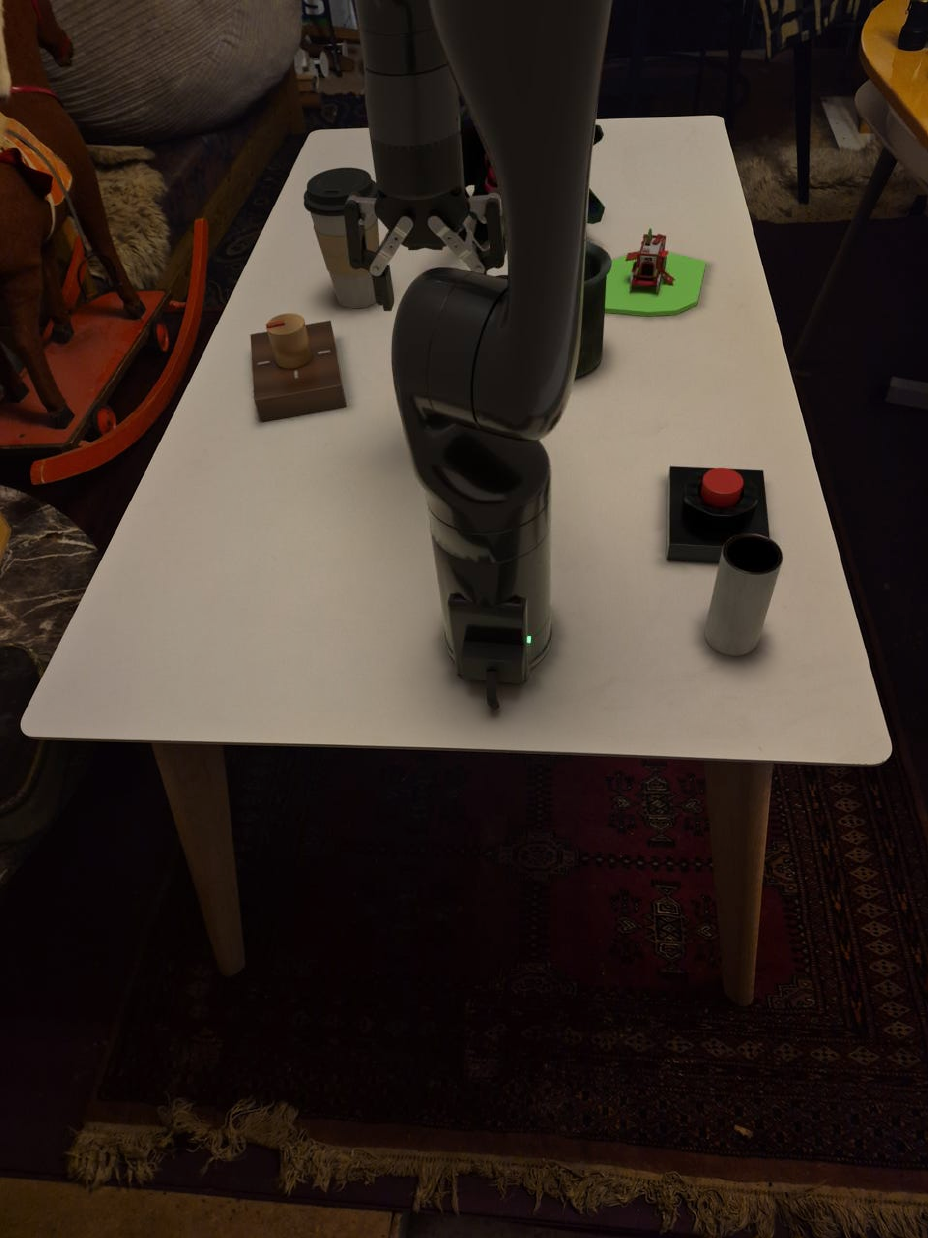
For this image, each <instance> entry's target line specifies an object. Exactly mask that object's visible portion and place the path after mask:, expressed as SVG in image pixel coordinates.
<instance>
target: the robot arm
mask: <svg viewBox="0 0 928 1238" xmlns="http://www.w3.org/2000/svg"><path fill="white" fill-rule="evenodd" d="M613 2H614V0H353V3H354V7H355V13H356V14H355V15H356V20H357V21H356V22H357V26H358V27H357V28H358V35H359V43H360V49H361V58H362V63H363V75H364V76H363V77H364V79H363V81H364V84H363V85H364V103H365V111H366V117H367V125H368V131H369V132H368V133H369V140H370V147H371V154H372V160H373V168H374V177H375V182H376V184H377V190H378V194H377V198H363V197H362V196H361V195H360V194H359V193H358V192H352V193H351V194H350V195H349V197H348V200H347V202H346V204H345V206H344V218H345V227H346V236H347V245H348V254H349V263H350V266H351V267H352V268H354V269H360V268H362V269H365V270H367V271H369V272H370V273H371V275H372V279H373V286H374V292H375V299H376V303H377V305H378V306H382V310H383V312H392V311H393V307H394V304H395V294H394V287H393V281H392V280H393V279H392V272H391V266H390V265H391V264H389V263H390V261H391V260H393V258H394V256H395V255H396V253H397V251H398V249H399V248H400V247H401V246H403V247H405V248H407V250H408V251H419V250H422V249H427V250H431V251H443V248H445V247H447V248H448V249H449V250H450V251H451V253H453V255H454V256H455V257H456V258H457V259H459V260H461V261H462V262H463V263H464V264H465V266H467V268H469V270H467V269H463V268H459V267H451V266H436V267H433V268H429V269H427V270H425V271H423V272H422V273H420V274H419V275H418V276H416V278H414V279H413V280H412V282H410V284H409V285H408V287H407V288H406V289H405V291H404V294H403V296H402V297H401V299H400V302H399V304H398V307H397V310H396V314H395V317H394V322H393V326H392V327H393V328H392V334H391V349H390V351H391V352H390V353H391V354H390V356H391V358H390V359H391V361H390V362H391V374H392V383H393V389H394V393H395V399H396V404H397V407H398V412H399V416H400V417H399V418H400V422H401V425H402V430H403V434H404V438H405V442H406V443H405V444H406V447H407V452H408V456H409V462H410V465H411V470H412V473H413V476H414V478H415V480H416V481H417V483H418V484H419V486H420V487H421V489H422V490H423V491H424V494H425V500H426V508H427V515H428V522H429V530H430V537H431V544H432V551H433V557H434V564H435V573H436V578H437V579H436V580H437V585H438V593H439V598H440V599H439V600H440V607H441V613H442V619H443V624H444V641H445V647H446V649H447V652H448V654H449V656H450V657H451V659H452V660H453V661H454V667H455V673H456V675H458V676H462V679H466V680H468V679H469V680H479V681H480V680H481V681H485V694H486V695H485V697H486V703H487V705H488V707H489V708H490V710H491V711H493V712H496V711H498V710H499V709H500V708H501V707H500V706H501V704H500V703H499V699H498V692H497V691H498V690H497V689H498V688H497V685H498V683H497V682H504V683H514V684H516V683H517V684H523V683H524V681H527V680H528V679H529V675H530V671H531V669H533V668H535V667H536V666H537V665H538V664H539V663H540V662H541V661H543V659H544V658H545V656H547V653H548V652H549V650H550V647H551V644H552V638H553V627H552V615H551V614H552V601H551V600H552V594H551V593H552V592H551V591H552V587H551V586H552V585H551V584H552V578H551V577H552V464H551V459H550V456H549V453H548V451H547V449H546V447H545V445H544V444H543V443H542V442H541V440H543V439H545V438H546V437H548V436H549V435H550V434H551V433H552V432H553V431H554V430H555V429H556V427H557V426H558V424H559V423H560V422H561V419H562V417H563V415H564V413H565V412H566V409H567V407H568V404H569V400H570V397H571V394H572V391H573V387H574V384H575V379H576V377H575V374H576V368H577V363H578V356H579V348H580V337H581V323H582V309H583V291H584V270H585V250H586V241H587V229H588V223H587V214H588V197H589V188H590V181H591V169H592V168H591V167H592V158H593V150H594V146H593V142H594V133H595V124H597V114H598V106H599V99H600V92H601V84H602V78H603V71H604V62H605V56H606V50H607V44H608V43H607V42H608V36H609V28H610V23H611V15H612V8H613ZM460 99H461V101H462V103H463V106H464V105H465V107H466V109H467V111H468V114H469V116H470V118H471V120H472V122H473V125H474V127H475V129H476V131H477V133H478V135H479V138H480V140H481V142H482V145H483V147H484V150H485V152H486V155H487V157H488V160H489V162H490V165H491V167H492V170H493V174H494V177H495V180H496V183H497V186H498V190H499V191H498V190H496V189H493V190H491V191H490V192H489V193H488V195H481V196H472V195H470V194H469V192H468V190H467V189H466V188H467V187H466V188H465V184H464V171H463V155H462V140H461V124H460V117H461V107H462V106H461V102H460ZM470 211H472V212H475V213H476V214H477V215H478V218H479V220H480V222H482V223H484V224H487V230H488V239H489V240H488V247H489V248H488V249H484V248H483V246H482V247H481V246H480V245H479V243H478V242H477V241H476V240H475V238H474V236H473V234H474V233H473V232H472V230H471V229H470V228H469V227H468V226H467V224H466V223H465V222H466V220H467V218H468V217H469V213H470ZM373 213H375V214H376V216H377V217H378V221H380V222H381V223H382V225H383V226H384V227H385V228H386V229H387V232H386V234H385V235H384V238H383V239H382V241H381V243H380V244H379V248H378V249H377V251H376V252H374V251H371V250H368V249H367V243H366V233H365V225H366V224H367V223H368V222H369V219H370V216H371V214H373ZM503 213H504V217H503ZM504 220H505V221H504ZM506 254H507V255H506ZM506 256H507V257H506ZM506 258H507V259H506ZM506 260H507V261H506ZM505 261H506V262H507V275H508V279H506V278H501V277H496V276H497V275H491V274H488V272H489V270H492V269H497V270H498V269H502V268H503V267H504V266H505Z"/></svg>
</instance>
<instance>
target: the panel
mask: <svg viewBox="0 0 928 1238" xmlns="http://www.w3.org/2000/svg"><path fill="white" fill-rule="evenodd" d="M305 325H306V329H307V333H308V338H309V342H310V346H311V350H312V359H311V360H310V362H308V363H307V364H306V365H304V366H301V367H298V368H293V369H286V368H282V367H280V366H278V365H277V364H276V361H275V358H274V354H273V350H272V347H271V343H270V340H269V336H268V333H267V331H262V332H256V333H251V334H249V336H250V352H251V353H250V354H251V367H252V368H251V369H252V370H251V371H252V381H253V383H252V385H253V399H254V400H253V401H254V404H255V407H256V410H257V414H258V417H259V420H260V422H261V423H262V422H267V421H268V422H269V421H273V420H280V419H285V418H291V417H296V416H300V415H307V414H313V413H319V412H324V411H329V410H335V409H340V408H346V407H347V406H348V405H347V400H346V394H345V389H344V383H343V378H342V371H341V366H340V360H339V355H338V349H337V344H336V339H335V335H334V330H333V325H332V321H331V320H326V321H320V322H313V323H307V324H305Z"/></svg>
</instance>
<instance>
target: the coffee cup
mask: <svg viewBox="0 0 928 1238" xmlns="http://www.w3.org/2000/svg"><path fill="white" fill-rule="evenodd" d="M352 192H358V193H359V194H360V195H361V196H362V197H363V198H377V194H378V190H377V184H376V180H374V179H373V178H372V175H371V174H370V173H369V172H368V171H367V170H364V169H362V168H359V167H337V168H331V169H327V170H324V171H322V172H319V173H317V174H316V175H314V176H312V177H310V179H309V180H308V181H307V183H306V190H305V191H304V193H303V206H304V209H305V210H306V211H308V212H310V216H311V219H312V222H313V229H314V233H315V236H316V239H317V242H318V246H319V249H320V251H321V255H322V258H323V262H324V265H325V267H326V270H327V272H328V273H329V277H330V281H331V282H332V286H333V288H334V292H335V296H336V299H337V301H338V303H339V305H340V306H343V307H344V308H346V309H347V308H348V309H363V308H369V307H370V306H373V305H374V304H376V303H377V302H376V299H375V292H374V286H373V279H372V275H371V273H370V272H369V271H367V270H365V269H362V268H360V269H354V268H352V267H351V266H350V263H349V254H348V245H347V236H346V227H345V218H344V206H345V204H346V202H347V200H348V197H349V195H350V194H351V193H352ZM379 229H380V228H379V218H378V217H377V216H376V214H375V213H373V214H371V216H370V219H369V222H368V223H367V224H366V225H365V233H366V243H367V249H368V250H371V251H374V252H376V251H377V249H378V248H379V246H380V233H379Z"/></svg>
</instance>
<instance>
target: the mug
mask: <svg viewBox="0 0 928 1238" xmlns="http://www.w3.org/2000/svg"><path fill="white" fill-rule="evenodd" d="M611 260H612V258H611V256H610V254H609V252H608V251H606V249H604V248H603V247H601V246H600V245H598V244H595V243H594V242H590V241H587V240H586V250H585V270H584V291H583V309H582V323H581V337H580V348H579V356H578V363H577V368H576V374H575V378H579V377H581V376H583V375H586V374H588V373H590V372H591V371H592V370H594V368H595V367H597V365H598V364H599V363H600V361H601V359H602V357H603V354H604V353H603V351H604V332H605V315H606V312H605V299H606V281H607V274H608V273H609V271H610V269H611V266H612V261H611ZM495 276H496V277H501V278H506V279H508V274H499V275H498V274H497V275H495Z"/></svg>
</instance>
